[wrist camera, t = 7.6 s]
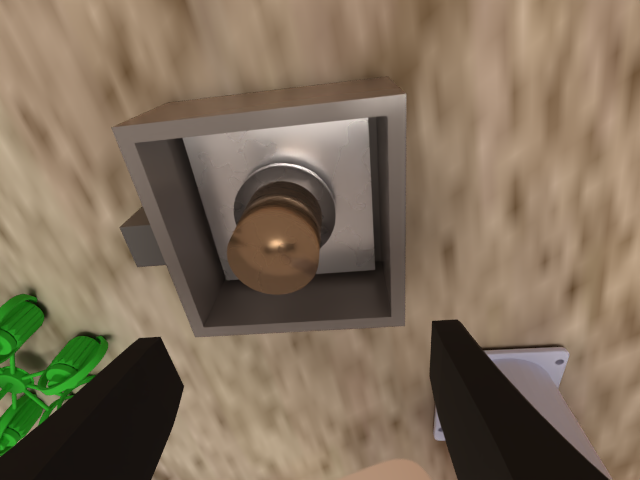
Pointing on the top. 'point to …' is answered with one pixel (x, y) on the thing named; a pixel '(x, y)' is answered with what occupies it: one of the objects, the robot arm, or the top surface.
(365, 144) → the plunger
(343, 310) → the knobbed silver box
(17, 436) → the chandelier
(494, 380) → the robot arm
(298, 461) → the top surface
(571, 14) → the top surface
